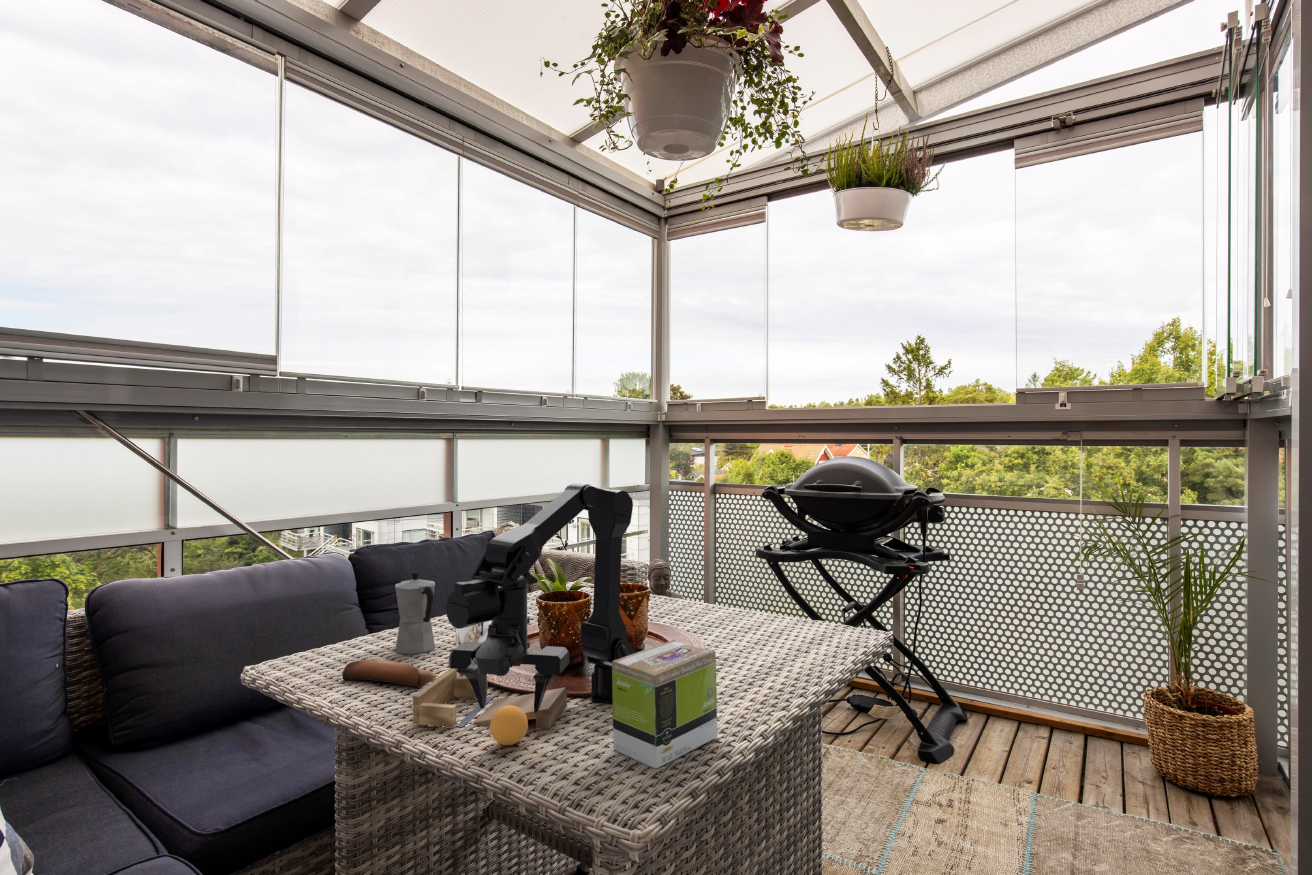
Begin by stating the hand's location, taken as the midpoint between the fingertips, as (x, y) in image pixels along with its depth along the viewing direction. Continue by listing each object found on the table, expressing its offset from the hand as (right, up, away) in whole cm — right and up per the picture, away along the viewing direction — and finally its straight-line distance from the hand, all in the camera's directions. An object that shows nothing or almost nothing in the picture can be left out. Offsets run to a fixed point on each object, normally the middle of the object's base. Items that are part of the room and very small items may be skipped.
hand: (509, 709), depth 113 cm
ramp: (0, -5, +11) cm, 12 cm away
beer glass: (-13, -5, +29) cm, 32 cm away
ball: (0, -5, 0) cm, 5 cm away
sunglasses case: (-30, -6, +29) cm, 43 cm away
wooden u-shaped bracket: (-13, -5, +13) cm, 20 cm away
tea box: (+25, -6, 0) cm, 26 cm away
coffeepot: (-32, -5, +48) cm, 58 cm away
